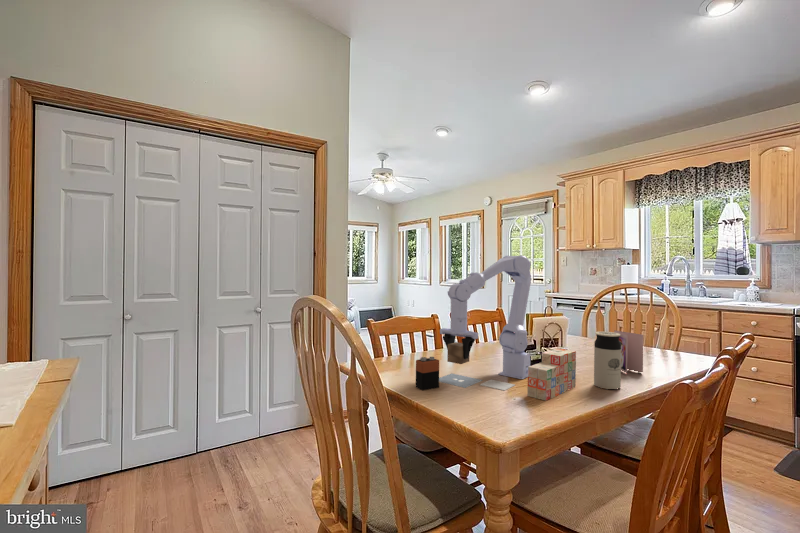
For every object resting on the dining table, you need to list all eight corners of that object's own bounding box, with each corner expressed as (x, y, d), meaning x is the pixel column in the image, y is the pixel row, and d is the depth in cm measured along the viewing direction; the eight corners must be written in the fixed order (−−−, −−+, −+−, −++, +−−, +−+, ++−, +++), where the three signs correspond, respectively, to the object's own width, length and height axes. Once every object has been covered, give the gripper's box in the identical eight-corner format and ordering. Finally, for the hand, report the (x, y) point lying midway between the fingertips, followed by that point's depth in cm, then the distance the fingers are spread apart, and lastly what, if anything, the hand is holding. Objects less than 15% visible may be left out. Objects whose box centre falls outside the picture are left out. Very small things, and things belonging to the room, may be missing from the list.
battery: (415, 387, 132) (415, 357, 132) (431, 384, 136) (432, 354, 136) (422, 391, 128) (422, 359, 128) (439, 387, 132) (439, 357, 132)
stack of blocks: (546, 401, 120) (546, 360, 120) (527, 396, 125) (527, 356, 125) (575, 387, 135) (576, 350, 135) (557, 383, 140) (558, 347, 140)
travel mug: (590, 382, 140) (591, 330, 140) (615, 383, 139) (615, 331, 139) (598, 389, 132) (599, 334, 132) (624, 391, 131) (625, 335, 131)
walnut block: (469, 361, 141) (469, 344, 141) (460, 364, 137) (461, 346, 137) (456, 358, 145) (456, 342, 144) (447, 361, 140) (447, 344, 140)
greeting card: (611, 367, 161) (612, 330, 161) (631, 368, 160) (631, 330, 160) (624, 375, 150) (625, 335, 150) (645, 376, 149) (646, 335, 149)
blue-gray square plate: (483, 380, 141) (483, 380, 141) (465, 388, 132) (465, 387, 132) (451, 373, 149) (451, 373, 149) (432, 380, 140) (432, 380, 140)
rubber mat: (515, 385, 135) (515, 384, 135) (504, 391, 129) (504, 390, 129) (491, 380, 141) (491, 379, 141) (479, 385, 135) (479, 384, 135)
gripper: (435, 317, 142) (434, 355, 142) (471, 321, 133) (470, 362, 133) (446, 315, 148) (446, 352, 148) (481, 319, 138) (481, 358, 138)
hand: (458, 356), depth 141 cm, fingers closed on walnut block, 5 cm apart
